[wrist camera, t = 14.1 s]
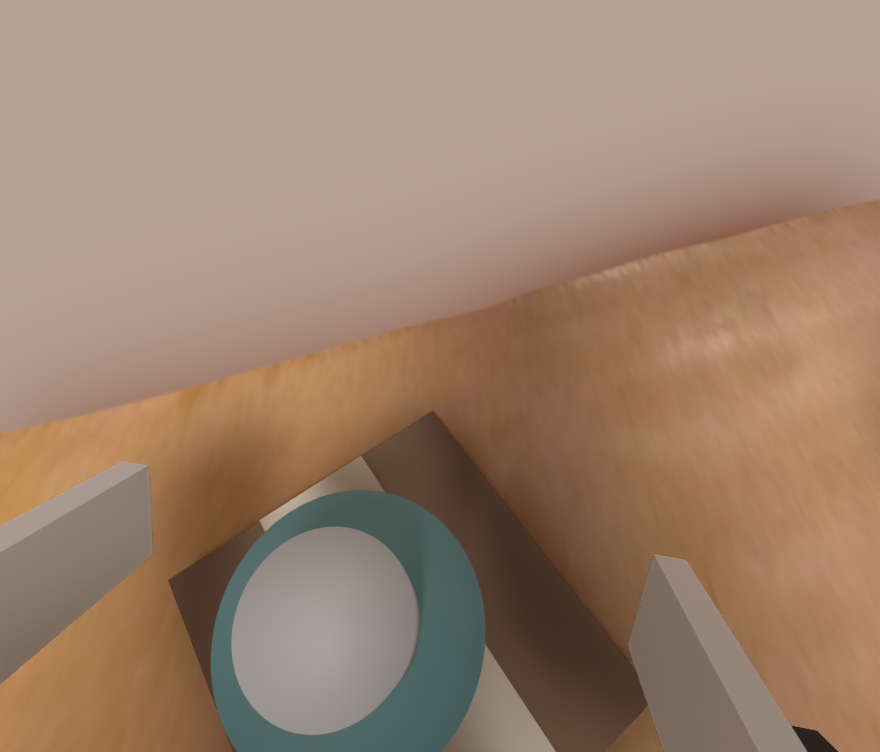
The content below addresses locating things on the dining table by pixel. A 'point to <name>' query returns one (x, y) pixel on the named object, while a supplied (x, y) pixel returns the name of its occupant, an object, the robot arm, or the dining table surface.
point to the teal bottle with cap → (349, 631)
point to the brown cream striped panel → (504, 599)
